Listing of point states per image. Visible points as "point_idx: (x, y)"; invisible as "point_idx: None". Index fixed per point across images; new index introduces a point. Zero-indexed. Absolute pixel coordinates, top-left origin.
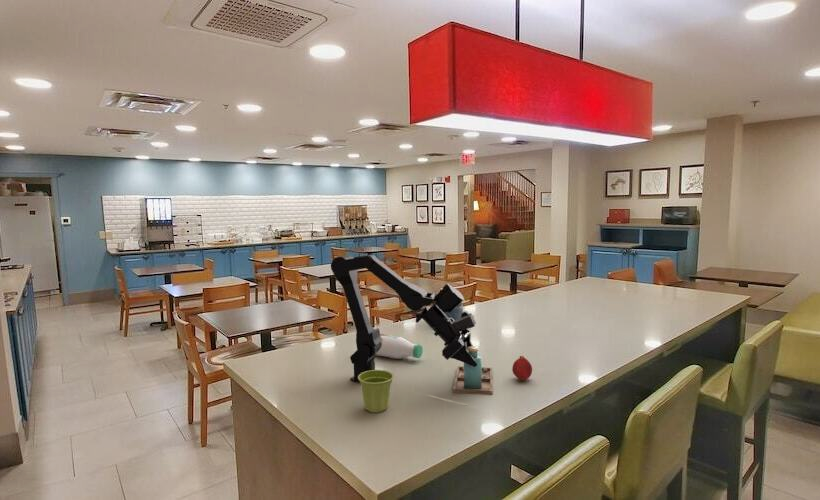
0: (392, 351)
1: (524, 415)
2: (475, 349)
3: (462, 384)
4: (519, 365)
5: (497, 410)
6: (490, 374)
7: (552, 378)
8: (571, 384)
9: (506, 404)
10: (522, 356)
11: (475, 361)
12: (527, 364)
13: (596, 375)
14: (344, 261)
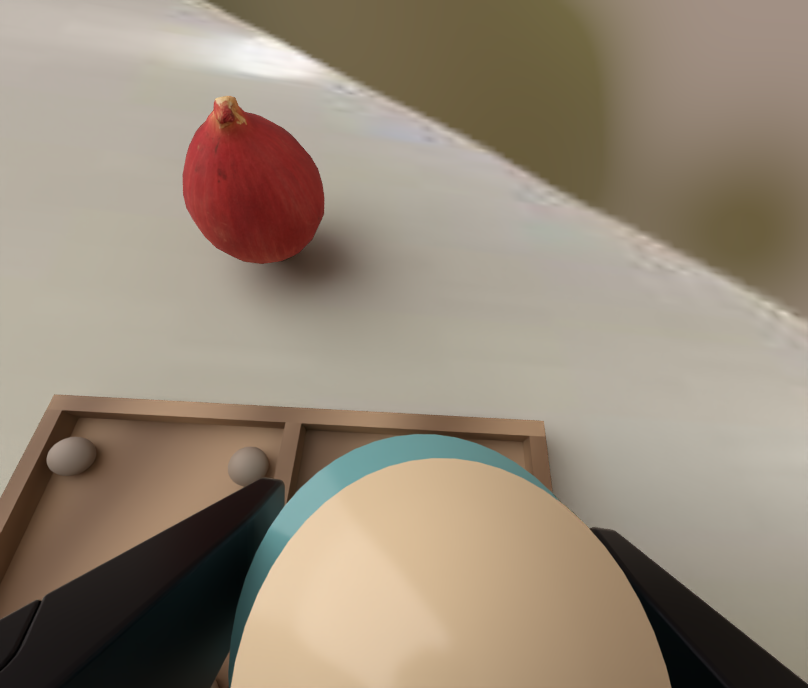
0: None
1: (731, 291)
2: (609, 563)
3: None
4: (290, 177)
5: (740, 415)
6: (205, 416)
7: None
8: (332, 101)
9: (633, 360)
10: (235, 101)
11: (641, 564)
12: (288, 133)
13: (243, 35)
14: None
